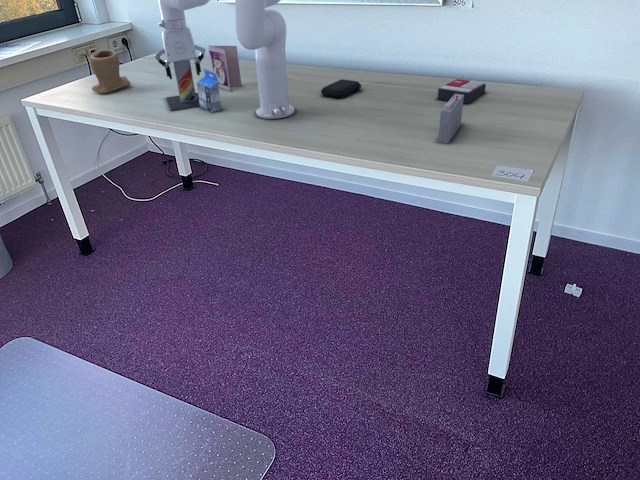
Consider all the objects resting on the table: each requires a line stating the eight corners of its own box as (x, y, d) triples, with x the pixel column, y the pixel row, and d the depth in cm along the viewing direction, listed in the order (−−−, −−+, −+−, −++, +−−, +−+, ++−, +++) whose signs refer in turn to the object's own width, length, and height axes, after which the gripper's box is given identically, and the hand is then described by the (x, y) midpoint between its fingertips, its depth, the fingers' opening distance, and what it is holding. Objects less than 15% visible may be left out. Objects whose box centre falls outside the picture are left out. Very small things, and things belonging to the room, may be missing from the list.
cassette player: (451, 123, 157) (455, 90, 152) (460, 124, 156) (464, 91, 151) (438, 142, 146) (441, 106, 140) (447, 143, 145) (451, 107, 139)
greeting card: (212, 86, 204) (206, 46, 196) (228, 81, 208) (223, 42, 200) (228, 91, 197) (222, 50, 189) (244, 87, 201) (239, 46, 193)
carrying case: (343, 100, 181) (365, 89, 191) (343, 92, 179) (365, 81, 189) (318, 96, 186) (341, 85, 196) (318, 87, 185) (341, 77, 195)
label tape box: (199, 106, 182) (193, 70, 175) (209, 103, 184) (204, 68, 177) (212, 112, 176) (206, 76, 169) (222, 109, 178) (217, 73, 171)
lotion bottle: (192, 103, 185) (182, 44, 174) (177, 102, 186) (166, 44, 175) (198, 98, 190) (189, 40, 179) (184, 97, 191) (173, 40, 180)
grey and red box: (486, 81, 180) (469, 90, 169) (484, 94, 182) (467, 104, 171) (456, 77, 185) (438, 86, 175) (455, 89, 188) (436, 99, 177)
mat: (211, 105, 184) (211, 103, 183) (171, 111, 180) (171, 109, 180) (204, 93, 196) (204, 91, 196) (166, 98, 193) (166, 97, 192)
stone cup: (105, 97, 197) (94, 56, 189) (88, 92, 204) (77, 52, 196) (139, 87, 207) (130, 48, 199) (122, 83, 214) (113, 44, 206)
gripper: (149, 29, 169) (160, 82, 178) (202, 23, 173) (210, 75, 182) (147, 26, 175) (158, 77, 184) (198, 20, 179) (207, 70, 189)
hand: (184, 76), depth 183 cm, fingers open, 9 cm apart
